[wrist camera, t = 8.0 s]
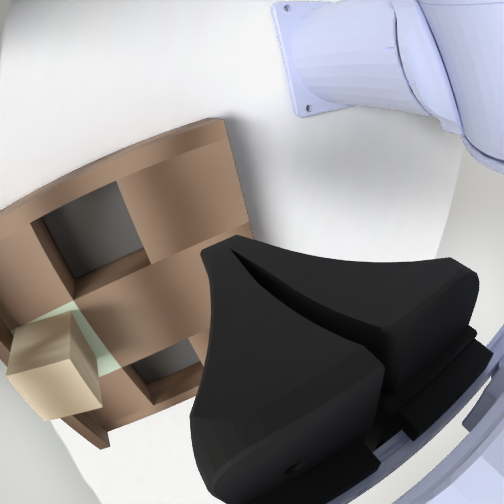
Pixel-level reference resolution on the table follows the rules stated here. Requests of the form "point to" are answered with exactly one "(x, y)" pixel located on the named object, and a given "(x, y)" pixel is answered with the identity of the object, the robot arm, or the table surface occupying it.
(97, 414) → the box
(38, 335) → the maple block
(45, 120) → the table surface
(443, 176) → the table surface
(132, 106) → the table surface
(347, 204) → the table surface
